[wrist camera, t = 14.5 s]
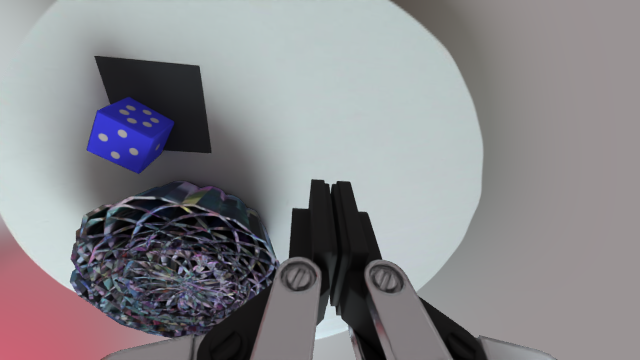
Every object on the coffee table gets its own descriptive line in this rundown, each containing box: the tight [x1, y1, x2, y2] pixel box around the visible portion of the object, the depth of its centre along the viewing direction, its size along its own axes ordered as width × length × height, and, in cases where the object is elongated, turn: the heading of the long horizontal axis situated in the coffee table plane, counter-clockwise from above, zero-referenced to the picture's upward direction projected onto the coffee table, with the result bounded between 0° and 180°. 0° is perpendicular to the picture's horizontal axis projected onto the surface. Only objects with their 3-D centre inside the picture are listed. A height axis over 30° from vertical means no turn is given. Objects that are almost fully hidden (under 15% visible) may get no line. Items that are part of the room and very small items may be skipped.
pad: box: [94, 56, 211, 153], centre depth 28 cm, size 10×10×1 cm
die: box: [87, 97, 174, 174], centre depth 27 cm, size 5×5×5 cm
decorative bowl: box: [70, 181, 280, 338], centre depth 35 cm, size 26×28×10 cm
